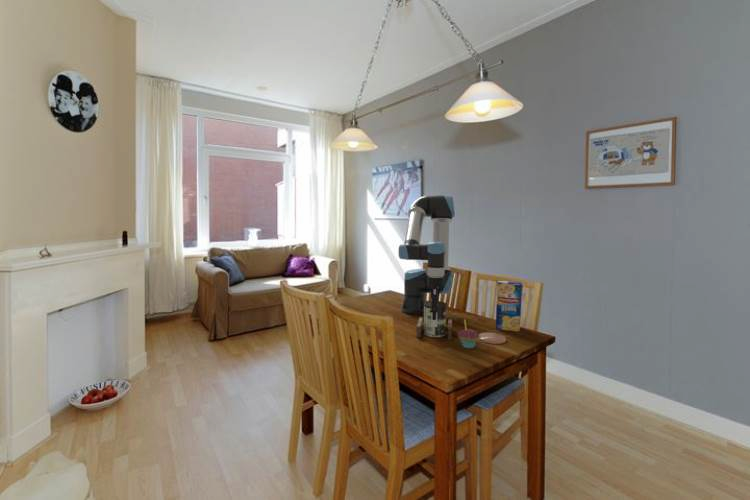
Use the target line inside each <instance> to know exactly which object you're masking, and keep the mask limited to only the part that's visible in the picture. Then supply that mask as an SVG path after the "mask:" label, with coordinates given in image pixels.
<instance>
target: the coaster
mask: <svg viewBox="0 0 750 500" xmlns="http://www.w3.org/2000/svg"><path fill="white" fill-rule="evenodd" d="M479 337H480V339H479V340H478V341H480V342H483V343H485V344H491V345H502V344H505V343H507V337H506V336H505V335H503V334H499V333H496V332H481V333H479Z"/></svg>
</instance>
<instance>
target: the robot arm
mask: <svg viewBox="0 0 750 500" xmlns="http://www.w3.org/2000/svg"><path fill="white" fill-rule="evenodd" d="M454 203H455V202H454V197H453V196H451V195H423V196H421V197H418V198H417V199H415V200H414V201H413V202H412V203H411V205H410V207H409V209H408V212H407V213H408V214H407V216H408V223H407V227H406V232H405V239H404V243H400V244H399V246H398V253H397V254H398V257H399V259H400V260H406V261H412V260H413V261H427V268H413V269H409V270H407V271H405V272H404V279H403V280H404V285H403V286H404V291H403V292H404V297H403V299H402V303H401V306H400V310H401V312H403V313H405V314H408V315H409V314H411V315H421V314H423V315H424V303H425V302H427V299H426V294H430V297H431V301H432V304H431V310H430V312H431V327H437V303H438V301H440V300H439V298H440V294H441V295H446V294H450V293H451V292H452V285H453V278H454V273H453V272H452V269H451V268H450V267H449V253H450V252H449V251H450V249H449V247H450V245H449V244H450V243H449V242H450V224H451V222H452V221H453V218H455V216H456V215H455V212H456V211H455V204H454ZM426 217H427V218H428V217H429V218H430V220H431V222H432V224H433V229H432V230H433V233H432V236H433V237H432V241H430V242H428V244H421V238H422V237H421V236H422V229H423V223H424V219H425V218H426Z"/></svg>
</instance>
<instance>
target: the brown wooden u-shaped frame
mask: <svg viewBox="0 0 750 500" xmlns="http://www.w3.org/2000/svg"><path fill="white" fill-rule="evenodd" d="M452 329H453V319H452V318H451V319H450V318H448V322H447V325H446V331H447V340H448V341H452V337H453V336H452V334H453V333H452ZM423 330H424V317H422V316H421V317H419V318H418V322H417V324H416V338H418V339H419V338H421V336H422V333H423Z"/></svg>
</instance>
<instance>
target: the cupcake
mask: <svg viewBox="0 0 750 500" xmlns="http://www.w3.org/2000/svg"><path fill="white" fill-rule="evenodd" d="M463 323H464V329H462V330H460V331H458V334H457V335H458V339H460V341H461V345H462V347H463V348H465V349H473V348H475V345H476V343H477V341H480V340H479V339H480V337H479V334H480V333H478V332H477V331H476V330H475V329H472V328H468V327H467V321H466V319H465V317H463Z"/></svg>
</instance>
